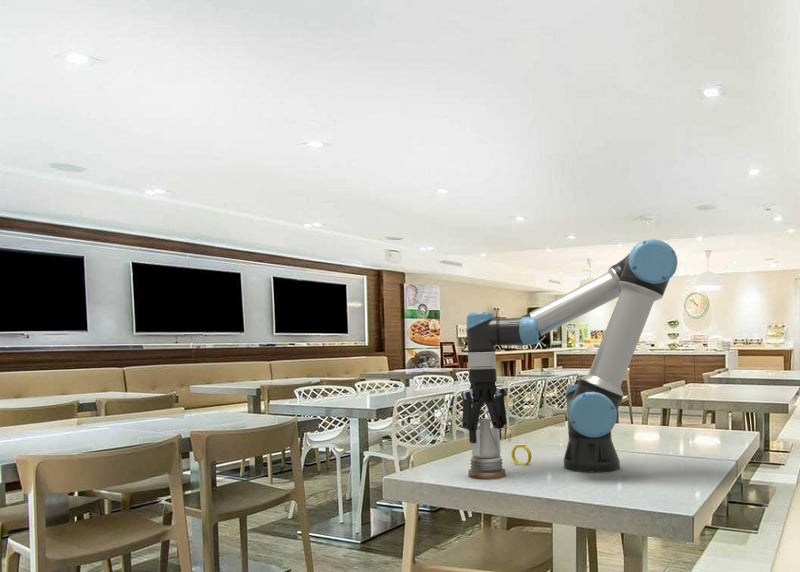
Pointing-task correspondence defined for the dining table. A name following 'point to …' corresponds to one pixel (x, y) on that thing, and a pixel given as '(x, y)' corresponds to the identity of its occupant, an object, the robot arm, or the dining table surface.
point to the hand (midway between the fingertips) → (486, 453)
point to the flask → (487, 441)
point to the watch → (527, 452)
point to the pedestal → (486, 468)
